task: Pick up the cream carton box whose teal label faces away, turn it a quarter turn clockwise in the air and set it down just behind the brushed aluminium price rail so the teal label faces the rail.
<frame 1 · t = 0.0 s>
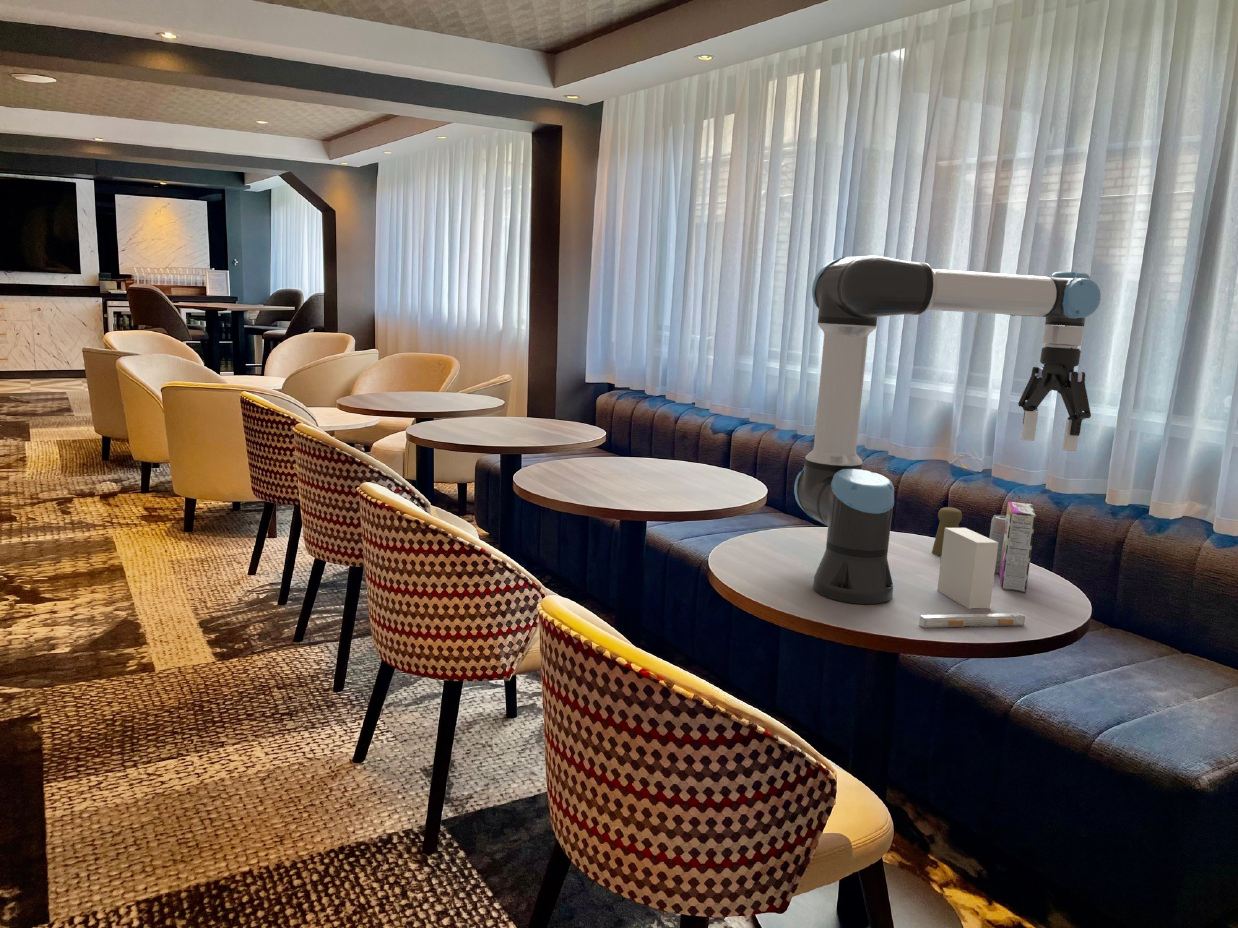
hand: (1047, 445, 195), 28 cm above the table, tool pointing down, fingers open, 13 cm apart
candy bar box: (1011, 584, 189), on the table
price rail: (971, 625, 162), on the table
energy drink: (998, 571, 198), on the table
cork: (945, 555, 210), on the table
carton box: (962, 599, 177), on the table
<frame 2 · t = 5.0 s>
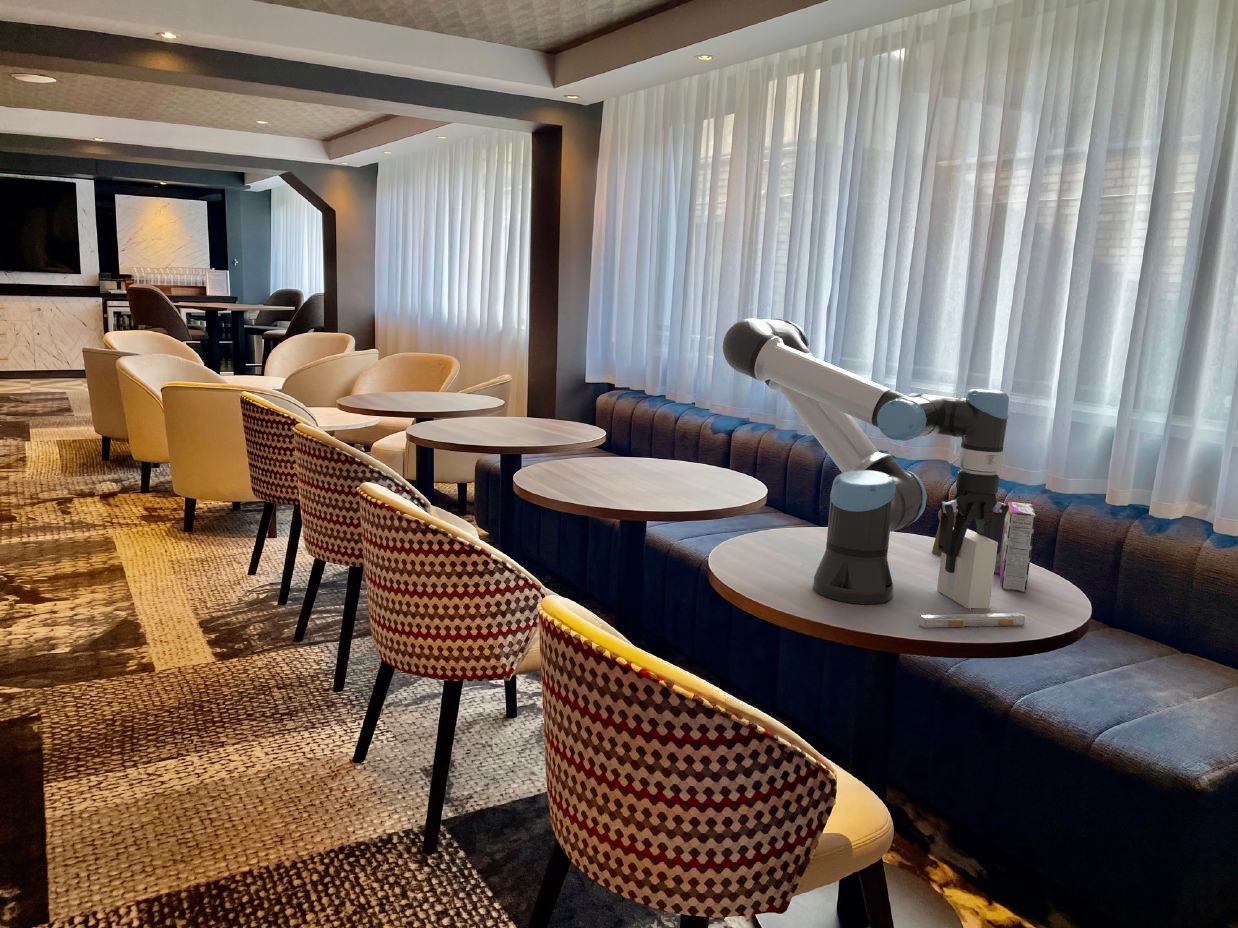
hand: (964, 587, 176), 2 cm above the table, tool pointing down, fingers closed on carton box, 5 cm apart
carton box: (962, 598, 177), on the table, touching gripper
everything else where it was.
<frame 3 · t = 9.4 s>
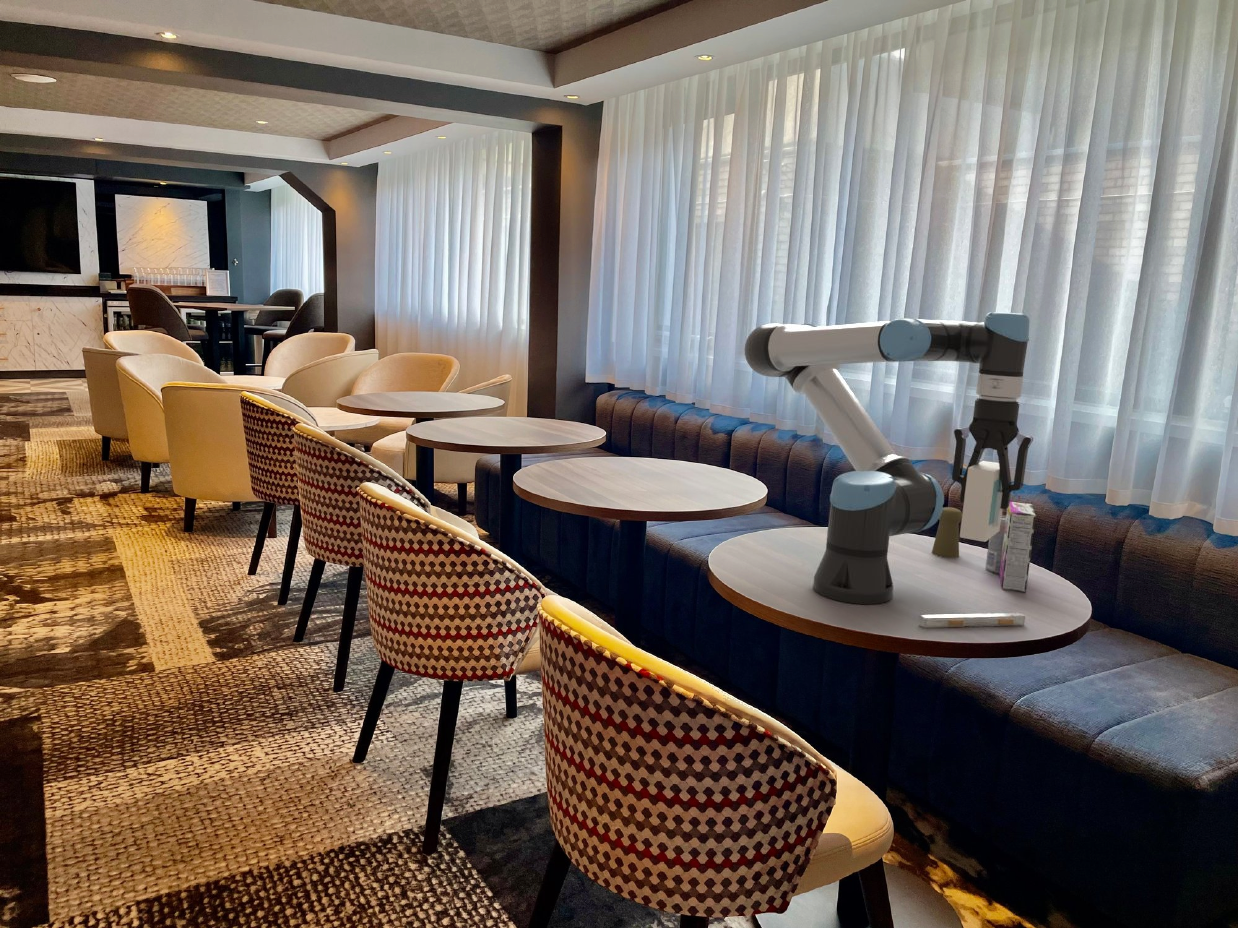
hand: (981, 522, 169), 17 cm above the table, tool pointing down, fingers closed on carton box, 5 cm apart
carton box: (979, 534, 169), point 14 cm above the table, touching gripper
everything else where it was.
when the fingers open (3 cm above the table, at t = 14.2 s): carton box stays where it is, on the table.
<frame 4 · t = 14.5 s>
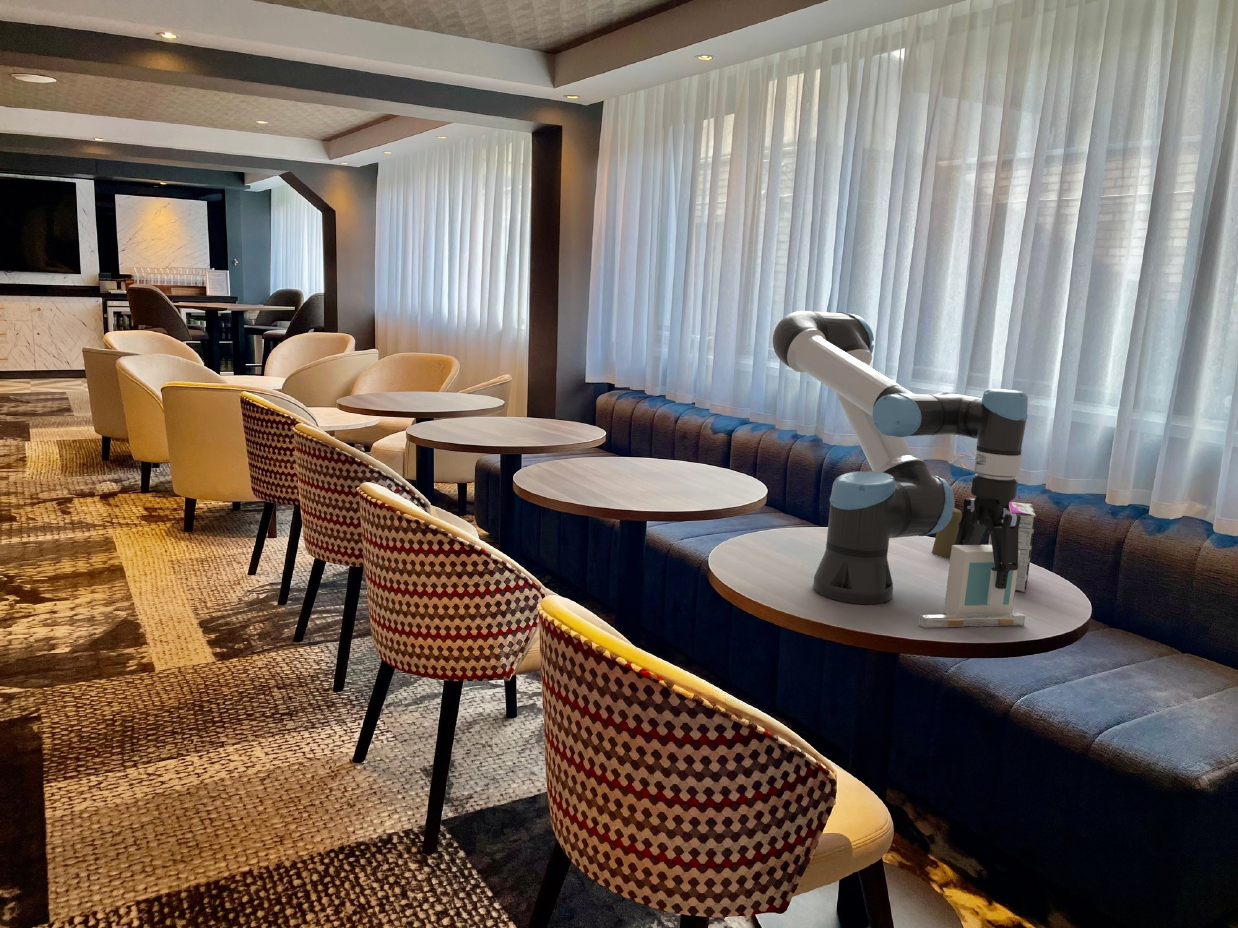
hand: (979, 596, 166), 4 cm above the table, tool pointing down, fingers open, 8 cm apart
carton box: (977, 616, 167), on the table
everything else where it was.
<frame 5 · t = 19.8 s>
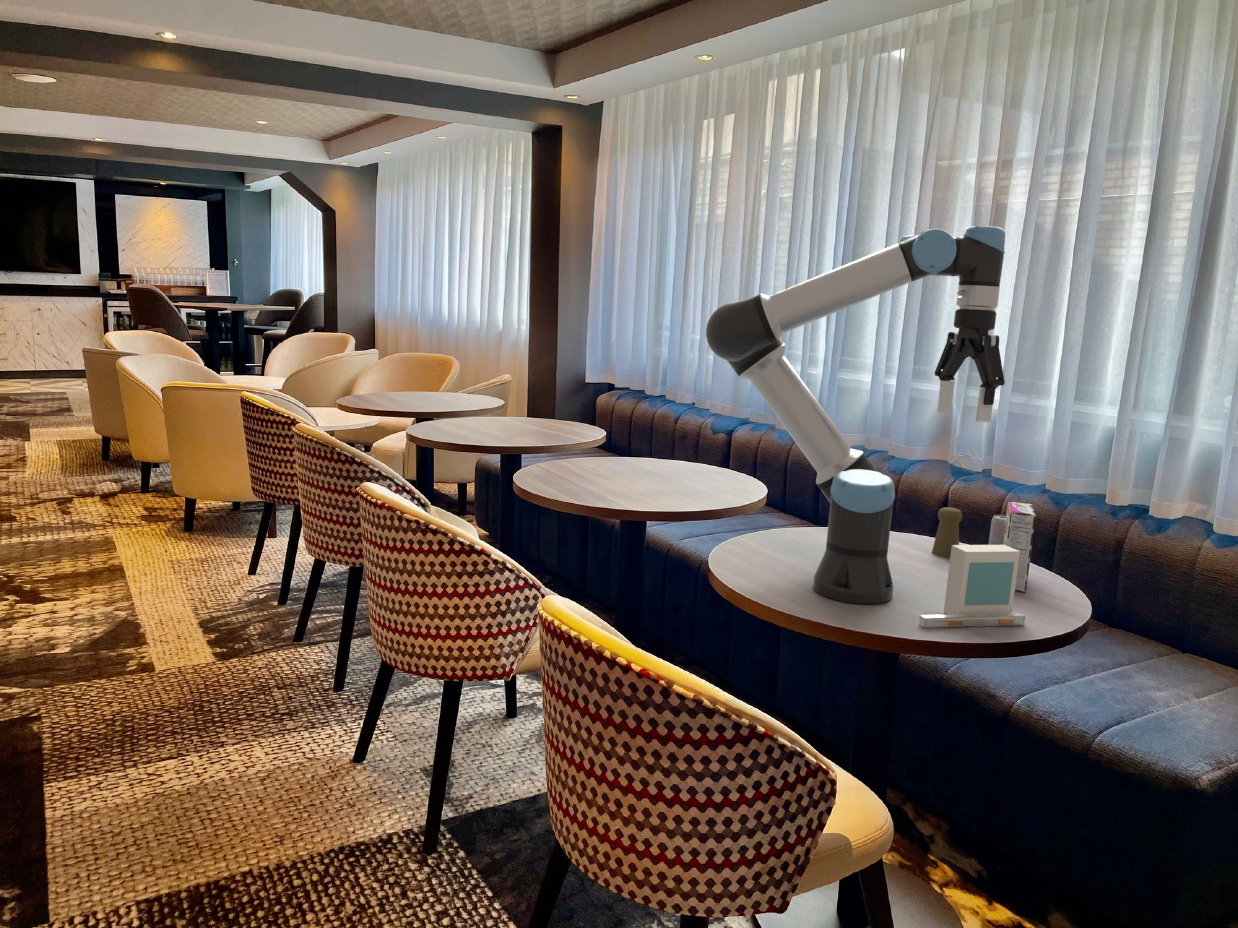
hand: (962, 417, 180), 35 cm above the table, tool pointing down, fingers open, 13 cm apart
nothing on the table moved.
at the end: carton box 0.4 cm from the target spot, on the table; carton box tilted 0°; the gripper is holding nothing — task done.
